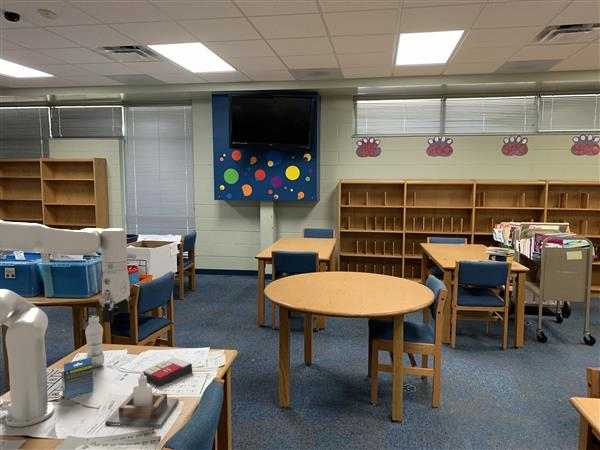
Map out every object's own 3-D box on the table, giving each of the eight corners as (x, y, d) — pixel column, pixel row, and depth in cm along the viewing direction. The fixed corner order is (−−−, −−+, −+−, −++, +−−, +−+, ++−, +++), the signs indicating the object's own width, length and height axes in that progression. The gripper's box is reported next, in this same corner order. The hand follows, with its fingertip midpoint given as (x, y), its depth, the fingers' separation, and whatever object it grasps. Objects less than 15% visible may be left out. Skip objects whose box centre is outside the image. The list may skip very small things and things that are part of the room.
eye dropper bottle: (144, 403, 133) (143, 368, 132) (154, 409, 130) (153, 373, 129) (132, 409, 130) (131, 372, 129) (141, 415, 127) (140, 378, 125)
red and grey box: (140, 370, 153) (173, 355, 165) (141, 381, 153) (174, 365, 165) (159, 378, 146) (192, 361, 159) (160, 389, 147) (192, 372, 159)
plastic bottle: (107, 362, 167) (105, 314, 165) (99, 370, 160) (98, 320, 158) (91, 362, 166) (89, 314, 165) (83, 370, 160) (81, 320, 158)
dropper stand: (105, 424, 123) (104, 411, 123) (129, 399, 138) (128, 387, 138) (160, 427, 122) (160, 414, 122) (178, 401, 137) (178, 390, 137)
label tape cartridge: (90, 387, 146) (89, 353, 145) (93, 391, 143) (92, 356, 142) (62, 395, 140) (60, 360, 139) (65, 399, 137) (63, 364, 136)
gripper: (112, 271, 125) (113, 326, 127) (138, 261, 142) (139, 310, 144) (88, 271, 126) (90, 325, 127) (117, 261, 143) (118, 309, 144)
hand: (116, 317), depth 135 cm, fingers open, 9 cm apart
